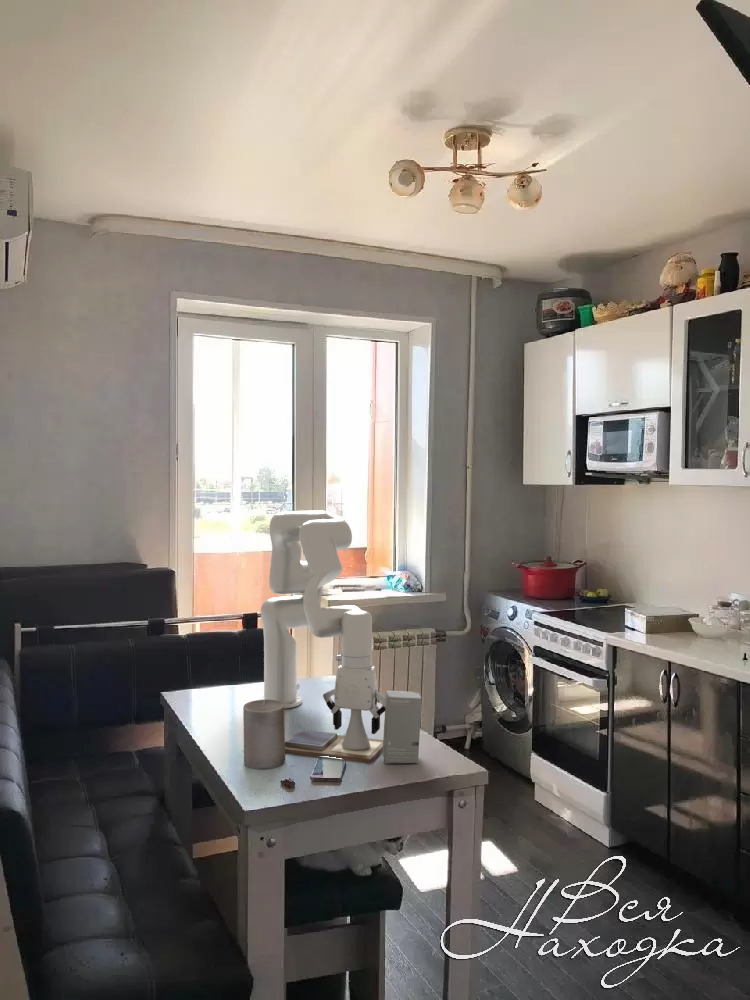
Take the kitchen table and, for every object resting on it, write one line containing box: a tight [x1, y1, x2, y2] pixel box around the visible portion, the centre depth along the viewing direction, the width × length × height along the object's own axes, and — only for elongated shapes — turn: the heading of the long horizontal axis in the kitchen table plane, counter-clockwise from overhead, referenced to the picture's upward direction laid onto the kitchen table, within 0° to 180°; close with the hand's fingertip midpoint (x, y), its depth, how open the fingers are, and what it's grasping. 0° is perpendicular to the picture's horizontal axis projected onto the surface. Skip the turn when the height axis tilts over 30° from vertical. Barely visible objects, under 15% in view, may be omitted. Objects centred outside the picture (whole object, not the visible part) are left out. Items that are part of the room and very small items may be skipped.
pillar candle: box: [242, 699, 286, 770], centre depth 192 cm, size 10×10×15 cm
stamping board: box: [285, 729, 383, 764], centre depth 202 cm, size 14×24×2 cm, turn 72°
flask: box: [342, 709, 370, 750], centre depth 200 cm, size 7×7×10 cm
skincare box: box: [382, 690, 422, 764], centre depth 194 cm, size 8×7×16 cm
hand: (356, 730), depth 200 cm, fingers open, 9 cm apart
